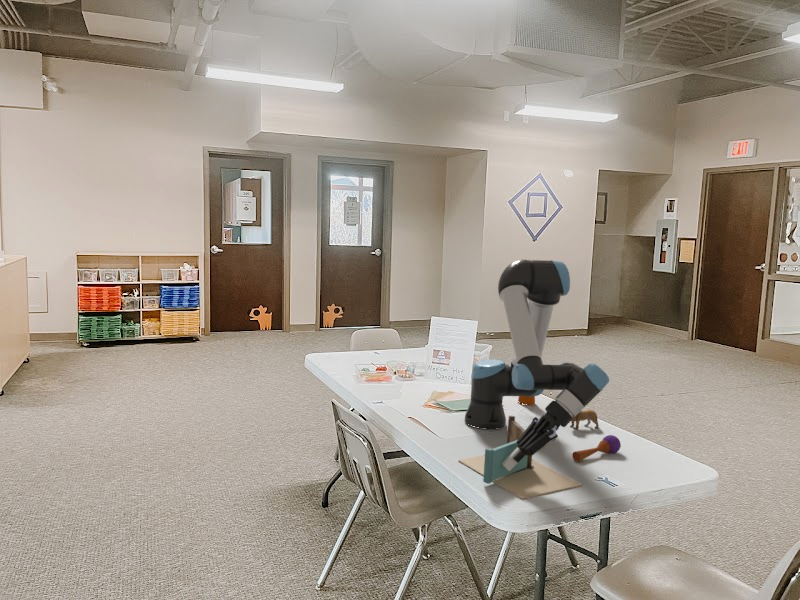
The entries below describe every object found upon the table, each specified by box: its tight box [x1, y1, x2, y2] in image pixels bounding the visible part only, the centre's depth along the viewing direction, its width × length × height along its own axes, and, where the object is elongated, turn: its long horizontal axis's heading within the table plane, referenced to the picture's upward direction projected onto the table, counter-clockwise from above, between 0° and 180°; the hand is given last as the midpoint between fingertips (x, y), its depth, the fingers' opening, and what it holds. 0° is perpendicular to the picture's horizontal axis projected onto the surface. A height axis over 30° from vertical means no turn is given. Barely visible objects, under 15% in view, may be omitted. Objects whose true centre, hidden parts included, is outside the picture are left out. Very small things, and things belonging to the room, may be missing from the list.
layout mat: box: [457, 454, 583, 500], centre depth 189 cm, size 30×22×1 cm
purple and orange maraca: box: [571, 434, 621, 463], centre depth 206 cm, size 6×6×20 cm
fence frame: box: [506, 415, 533, 468], centre depth 201 cm, size 18×2×11 cm, turn 10°
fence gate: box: [482, 440, 528, 485], centre depth 185 cm, size 20×2×10 cm, turn 135°
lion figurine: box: [569, 409, 600, 430], centre depth 235 cm, size 15×5×9 cm, turn 111°
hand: (505, 467), depth 181 cm, fingers closed
